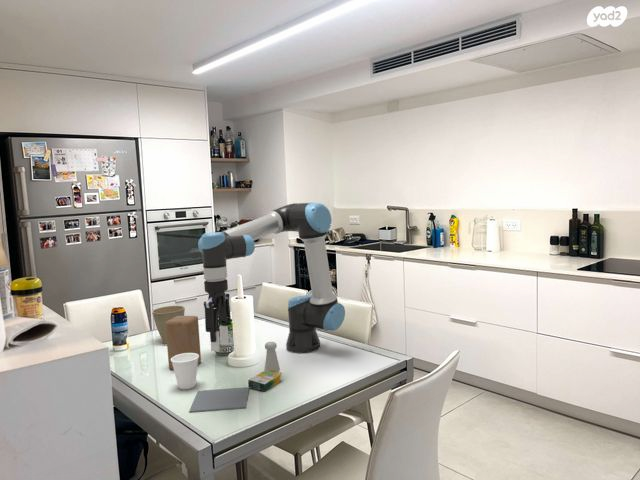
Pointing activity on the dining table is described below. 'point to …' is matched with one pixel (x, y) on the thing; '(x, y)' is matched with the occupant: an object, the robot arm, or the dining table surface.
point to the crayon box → (264, 380)
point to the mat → (220, 399)
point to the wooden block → (182, 337)
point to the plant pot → (166, 318)
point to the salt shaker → (271, 358)
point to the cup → (185, 369)
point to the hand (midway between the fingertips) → (220, 347)
